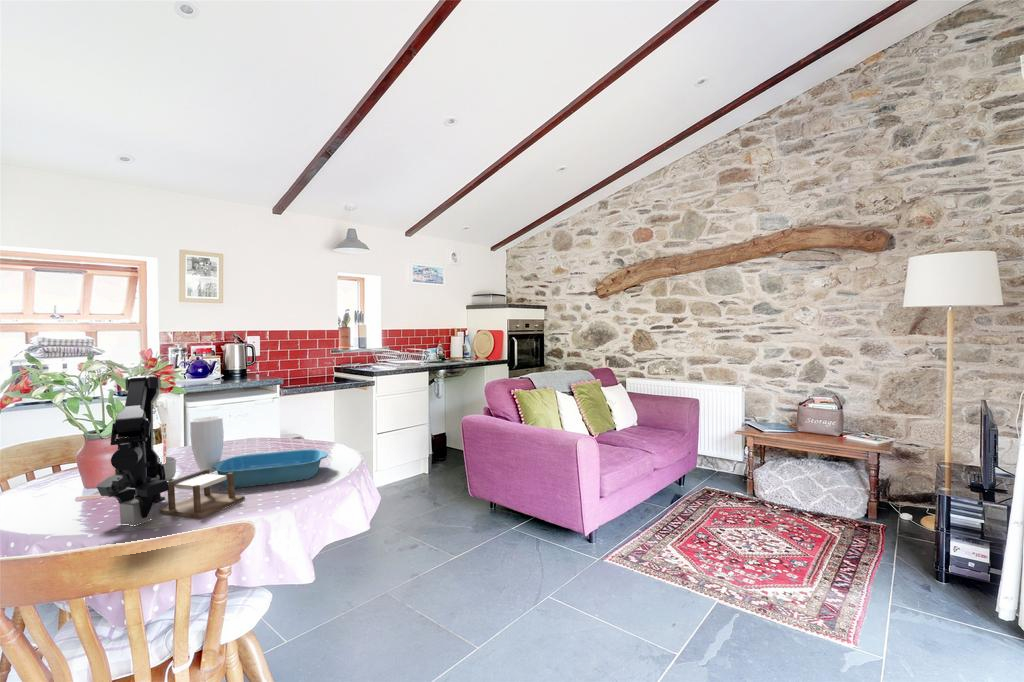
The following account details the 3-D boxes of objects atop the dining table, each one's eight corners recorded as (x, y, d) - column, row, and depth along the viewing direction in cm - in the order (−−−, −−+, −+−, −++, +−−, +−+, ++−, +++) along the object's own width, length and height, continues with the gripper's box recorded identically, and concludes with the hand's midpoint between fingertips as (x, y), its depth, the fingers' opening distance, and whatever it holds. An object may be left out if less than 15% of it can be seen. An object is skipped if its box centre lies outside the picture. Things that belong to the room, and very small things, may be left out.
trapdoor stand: (159, 513, 144) (157, 482, 144) (204, 495, 159) (203, 467, 158) (202, 518, 140) (200, 486, 139) (244, 499, 154) (243, 470, 154)
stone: (120, 525, 137) (119, 503, 136) (139, 518, 141) (137, 497, 141) (134, 526, 135) (132, 505, 135) (152, 519, 140) (151, 498, 140)
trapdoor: (176, 488, 145) (176, 484, 145) (206, 477, 155) (206, 473, 155) (197, 490, 143) (197, 486, 143) (226, 479, 153) (226, 475, 153)
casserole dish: (328, 463, 193) (328, 445, 192) (328, 480, 172) (327, 459, 171) (220, 475, 181) (219, 456, 180) (205, 495, 159) (204, 473, 159)
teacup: (171, 475, 181) (170, 454, 181) (182, 481, 174) (180, 458, 174) (124, 486, 170) (122, 463, 170) (133, 492, 164) (132, 468, 163)
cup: (188, 480, 176) (185, 419, 175) (221, 473, 183) (218, 414, 182) (196, 486, 168) (192, 423, 167) (230, 479, 175) (227, 418, 174)
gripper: (76, 467, 132) (80, 525, 133) (127, 472, 127) (131, 532, 128) (120, 456, 143) (123, 509, 144) (169, 460, 138) (172, 515, 138)
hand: (136, 516), depth 138 cm, fingers open, 6 cm apart
